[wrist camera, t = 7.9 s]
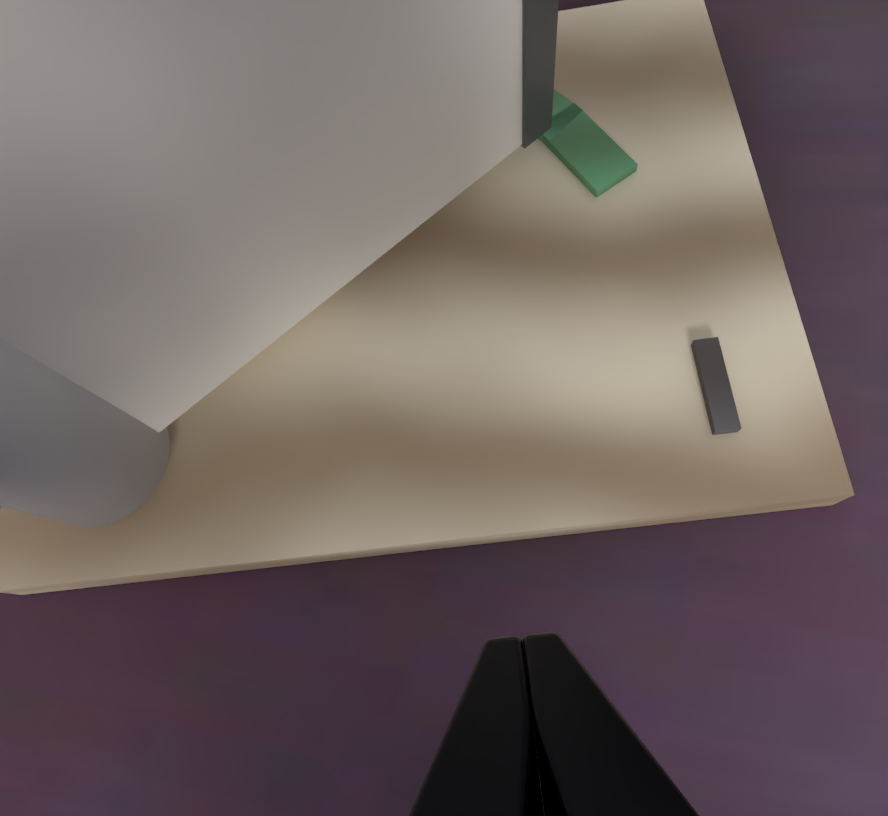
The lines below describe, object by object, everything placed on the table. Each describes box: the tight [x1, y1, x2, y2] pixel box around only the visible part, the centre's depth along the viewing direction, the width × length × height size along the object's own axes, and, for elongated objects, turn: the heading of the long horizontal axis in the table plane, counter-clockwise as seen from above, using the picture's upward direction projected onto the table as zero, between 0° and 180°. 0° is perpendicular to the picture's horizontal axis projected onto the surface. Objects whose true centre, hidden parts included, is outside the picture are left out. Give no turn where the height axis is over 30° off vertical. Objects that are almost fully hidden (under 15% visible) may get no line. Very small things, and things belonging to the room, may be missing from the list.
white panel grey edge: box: [0, 0, 559, 527], centre depth 13 cm, size 17×4×12 cm, turn 131°
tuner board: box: [0, 0, 854, 595], centre depth 19 cm, size 16×21×2 cm
